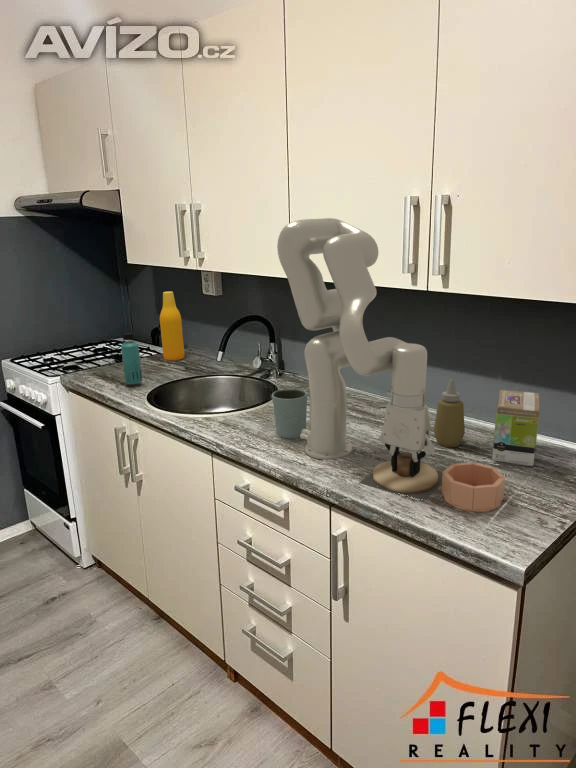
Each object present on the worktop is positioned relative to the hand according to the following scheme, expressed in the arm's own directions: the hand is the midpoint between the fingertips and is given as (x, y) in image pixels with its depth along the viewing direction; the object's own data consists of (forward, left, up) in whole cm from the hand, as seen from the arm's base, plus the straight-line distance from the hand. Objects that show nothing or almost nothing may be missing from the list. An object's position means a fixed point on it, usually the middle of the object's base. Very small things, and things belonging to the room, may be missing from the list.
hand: (405, 471), depth 138 cm
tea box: (+15, +30, -2) cm, 34 cm away
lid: (0, 0, -2) cm, 2 cm away
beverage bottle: (-120, +13, -2) cm, 120 cm away
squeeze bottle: (-1, +26, -2) cm, 26 cm away
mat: (0, 0, -2) cm, 2 cm away
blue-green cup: (-41, +8, -2) cm, 42 cm away
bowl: (+16, 0, -2) cm, 16 cm away
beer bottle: (-138, +48, -2) cm, 147 cm away
